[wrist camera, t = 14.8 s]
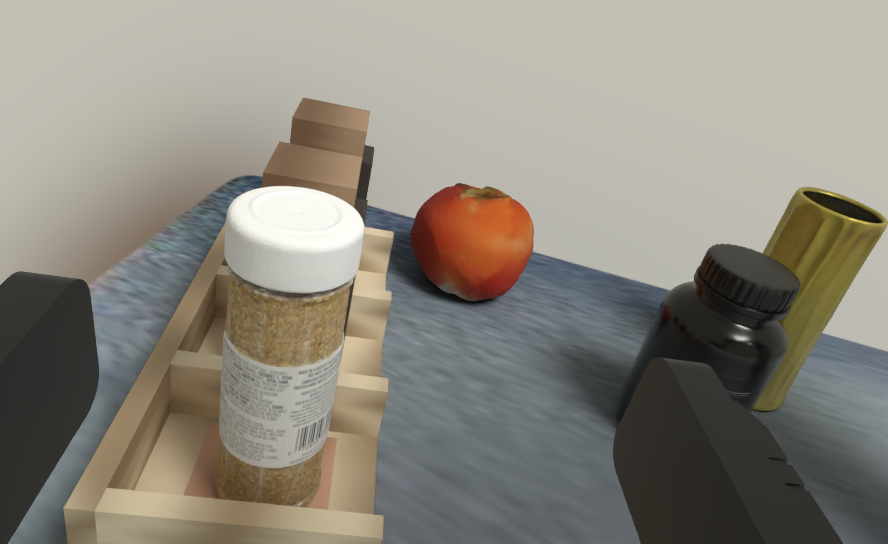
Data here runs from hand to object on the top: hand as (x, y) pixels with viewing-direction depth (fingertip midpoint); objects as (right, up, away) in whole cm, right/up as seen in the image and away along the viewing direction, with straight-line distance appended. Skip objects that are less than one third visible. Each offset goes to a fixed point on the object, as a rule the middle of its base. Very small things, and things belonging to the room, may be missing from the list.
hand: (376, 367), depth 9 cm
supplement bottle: (+15, -9, +29) cm, 34 cm away
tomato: (+2, 0, +40) cm, 40 cm away
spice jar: (-7, -8, +18) cm, 21 cm away
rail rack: (-8, -5, +26) cm, 27 cm away
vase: (+22, -7, +36) cm, 43 cm away
